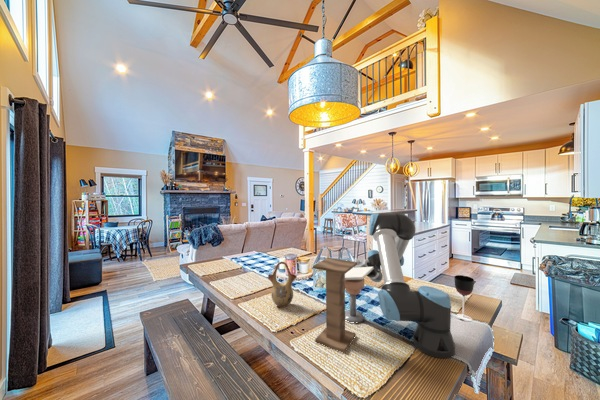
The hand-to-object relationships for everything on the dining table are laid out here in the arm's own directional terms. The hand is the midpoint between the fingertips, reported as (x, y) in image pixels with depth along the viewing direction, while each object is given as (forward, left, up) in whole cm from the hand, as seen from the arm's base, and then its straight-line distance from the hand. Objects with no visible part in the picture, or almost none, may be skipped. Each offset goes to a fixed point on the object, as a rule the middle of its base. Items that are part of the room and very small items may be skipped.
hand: (359, 260), depth 129 cm
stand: (-8, +30, -26) cm, 41 cm away
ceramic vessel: (+32, +28, -27) cm, 50 cm away
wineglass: (-40, -30, -27) cm, 57 cm away
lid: (-2, +5, -3) cm, 6 cm away
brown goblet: (-3, +10, -26) cm, 28 cm away
